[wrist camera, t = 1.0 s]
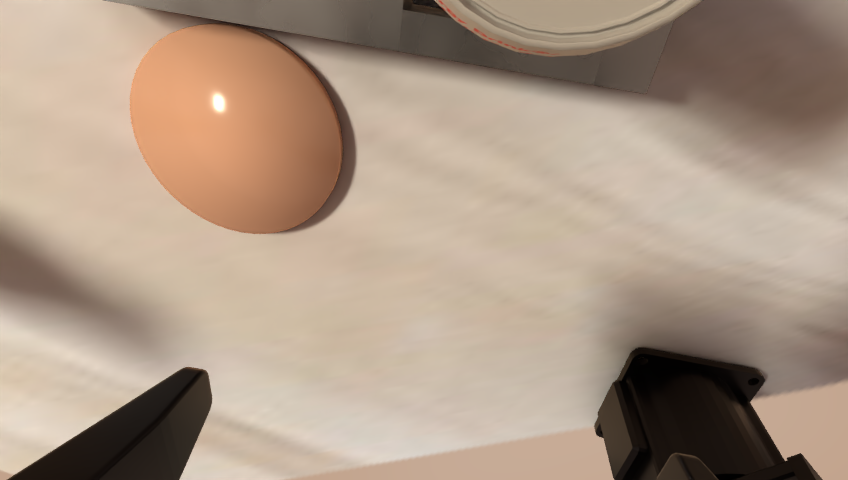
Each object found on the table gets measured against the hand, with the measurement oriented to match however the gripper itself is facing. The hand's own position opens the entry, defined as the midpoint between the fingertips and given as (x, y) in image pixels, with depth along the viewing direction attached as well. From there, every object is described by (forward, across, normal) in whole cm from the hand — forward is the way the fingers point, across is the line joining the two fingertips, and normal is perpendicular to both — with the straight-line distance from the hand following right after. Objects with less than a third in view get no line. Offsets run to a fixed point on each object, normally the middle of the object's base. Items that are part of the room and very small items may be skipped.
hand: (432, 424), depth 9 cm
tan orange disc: (+13, +10, 0) cm, 16 cm away
